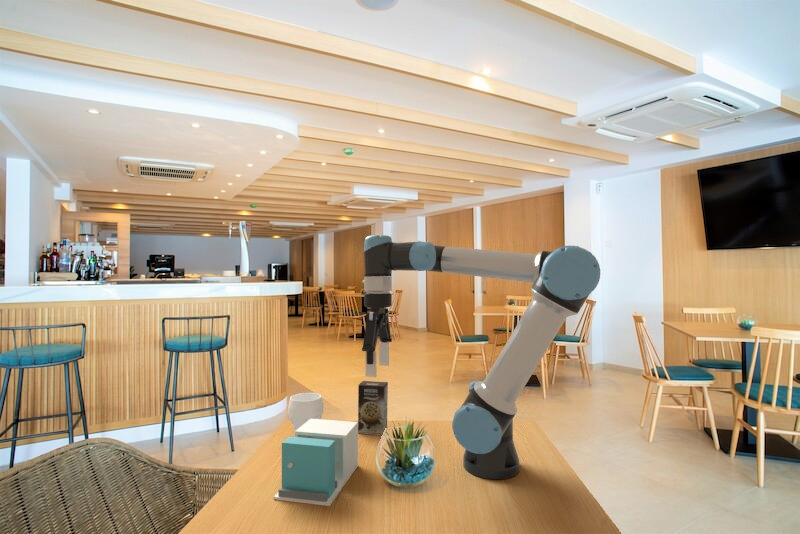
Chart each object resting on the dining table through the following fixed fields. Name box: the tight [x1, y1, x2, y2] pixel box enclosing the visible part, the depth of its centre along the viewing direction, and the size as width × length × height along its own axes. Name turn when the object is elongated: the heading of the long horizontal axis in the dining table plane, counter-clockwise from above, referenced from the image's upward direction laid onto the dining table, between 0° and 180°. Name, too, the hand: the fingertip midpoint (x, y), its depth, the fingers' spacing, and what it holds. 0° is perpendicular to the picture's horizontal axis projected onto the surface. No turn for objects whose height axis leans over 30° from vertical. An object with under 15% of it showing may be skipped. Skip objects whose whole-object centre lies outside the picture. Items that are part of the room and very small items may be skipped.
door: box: [281, 436, 335, 498], centre depth 103 cm, size 12×5×12 cm, turn 78°
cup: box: [287, 392, 324, 437], centre depth 133 cm, size 11×11×15 cm
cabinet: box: [273, 418, 359, 507], centre depth 110 cm, size 14×21×12 cm, turn 168°
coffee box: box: [357, 380, 389, 436], centre depth 145 cm, size 9×6×16 cm
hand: (377, 370), depth 117 cm, fingers open, 13 cm apart
